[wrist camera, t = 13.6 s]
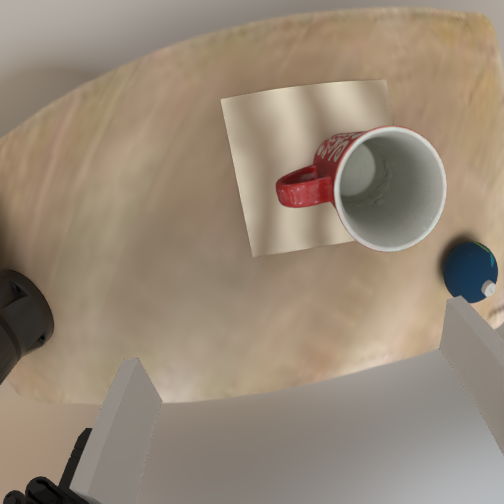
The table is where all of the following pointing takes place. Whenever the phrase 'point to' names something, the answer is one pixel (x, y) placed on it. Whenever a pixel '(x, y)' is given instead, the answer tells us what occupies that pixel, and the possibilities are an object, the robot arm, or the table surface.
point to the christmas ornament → (471, 272)
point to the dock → (294, 154)
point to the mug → (374, 185)
